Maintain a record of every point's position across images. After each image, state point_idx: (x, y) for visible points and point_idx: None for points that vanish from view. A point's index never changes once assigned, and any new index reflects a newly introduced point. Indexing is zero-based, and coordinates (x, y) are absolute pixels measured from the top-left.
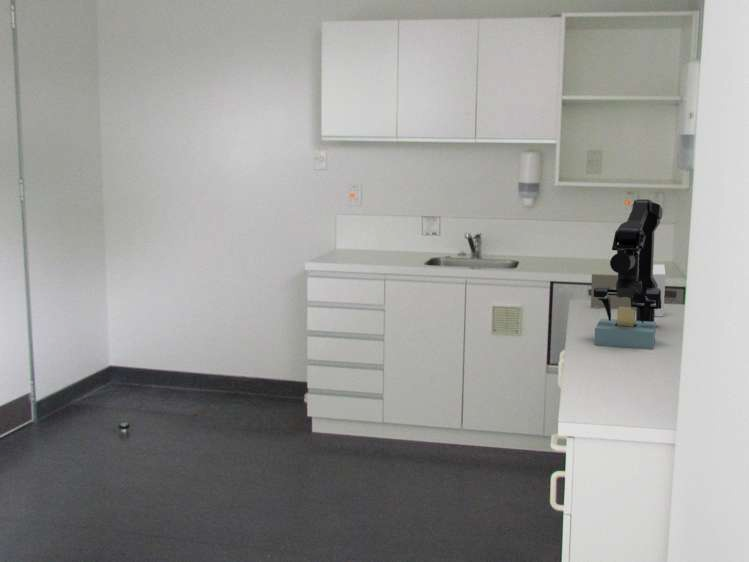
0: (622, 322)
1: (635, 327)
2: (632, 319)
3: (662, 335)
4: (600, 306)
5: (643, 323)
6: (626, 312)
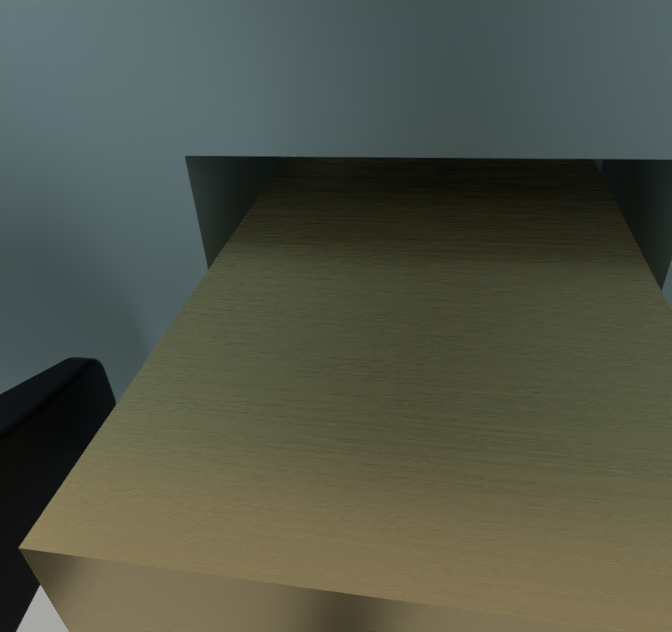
0: (497, 258)
1: (193, 154)
2: (217, 299)
3: None
4: None
5: None
6: (366, 473)
